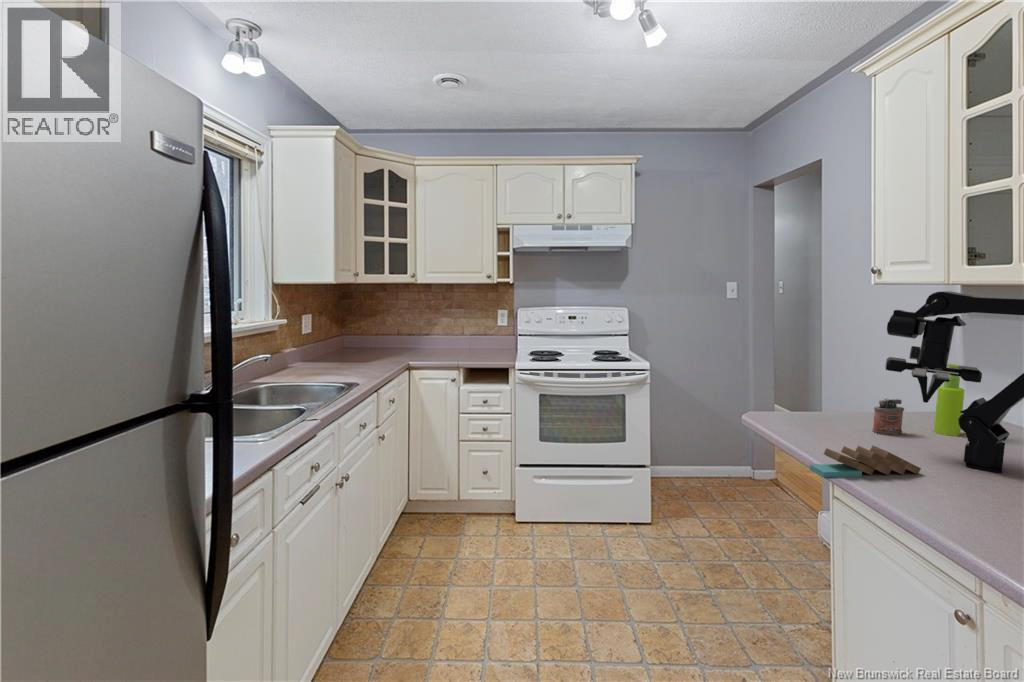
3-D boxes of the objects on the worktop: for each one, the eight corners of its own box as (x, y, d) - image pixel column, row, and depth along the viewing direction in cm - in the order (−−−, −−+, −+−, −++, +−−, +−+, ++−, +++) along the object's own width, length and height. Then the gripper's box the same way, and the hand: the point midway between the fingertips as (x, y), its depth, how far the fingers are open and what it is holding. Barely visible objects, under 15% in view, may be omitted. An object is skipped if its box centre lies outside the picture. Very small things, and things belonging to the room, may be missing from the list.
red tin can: (877, 434, 153) (880, 400, 151) (869, 431, 156) (871, 397, 155) (905, 434, 153) (908, 400, 152) (896, 431, 156) (899, 397, 155)
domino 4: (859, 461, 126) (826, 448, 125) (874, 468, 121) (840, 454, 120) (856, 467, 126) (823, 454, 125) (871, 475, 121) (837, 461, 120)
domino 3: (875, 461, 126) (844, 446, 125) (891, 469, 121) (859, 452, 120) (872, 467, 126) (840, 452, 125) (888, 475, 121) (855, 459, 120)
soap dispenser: (935, 428, 159) (942, 361, 157) (964, 434, 153) (971, 365, 151) (925, 430, 156) (932, 363, 154) (954, 436, 150) (961, 366, 148)
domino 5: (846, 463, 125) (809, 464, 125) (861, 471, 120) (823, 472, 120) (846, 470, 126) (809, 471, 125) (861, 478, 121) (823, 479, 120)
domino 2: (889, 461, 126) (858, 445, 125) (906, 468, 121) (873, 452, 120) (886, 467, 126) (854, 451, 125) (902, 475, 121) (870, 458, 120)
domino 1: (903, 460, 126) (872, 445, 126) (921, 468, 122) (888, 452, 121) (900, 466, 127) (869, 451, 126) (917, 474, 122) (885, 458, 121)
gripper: (979, 342, 134) (967, 402, 137) (889, 333, 144) (880, 389, 147) (988, 348, 125) (975, 412, 128) (891, 338, 135) (881, 397, 138)
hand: (925, 402), depth 135 cm, fingers closed
